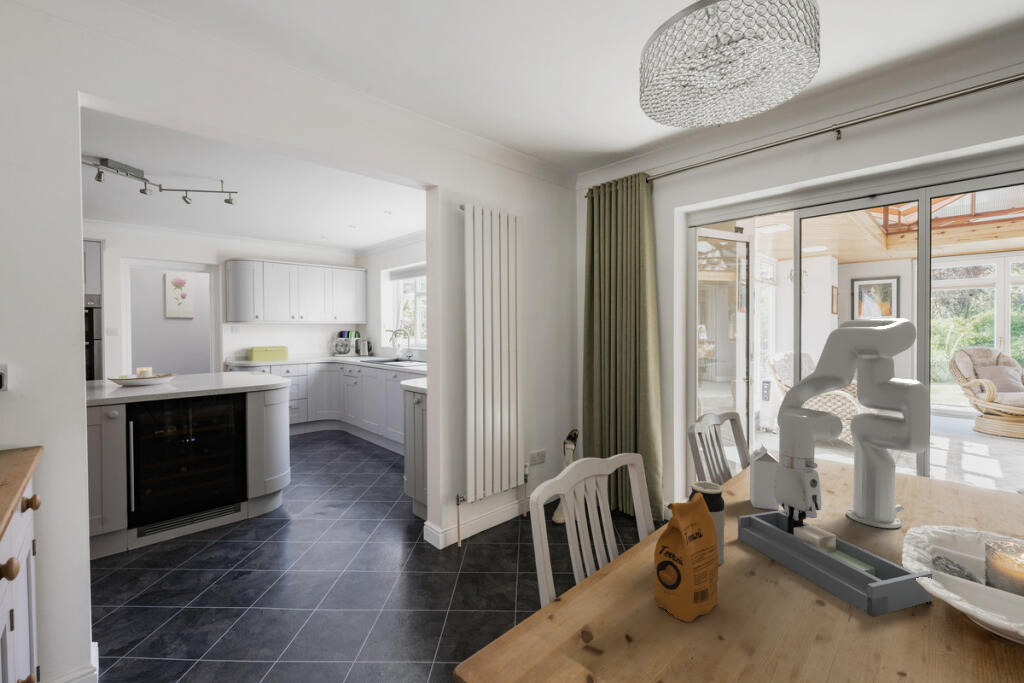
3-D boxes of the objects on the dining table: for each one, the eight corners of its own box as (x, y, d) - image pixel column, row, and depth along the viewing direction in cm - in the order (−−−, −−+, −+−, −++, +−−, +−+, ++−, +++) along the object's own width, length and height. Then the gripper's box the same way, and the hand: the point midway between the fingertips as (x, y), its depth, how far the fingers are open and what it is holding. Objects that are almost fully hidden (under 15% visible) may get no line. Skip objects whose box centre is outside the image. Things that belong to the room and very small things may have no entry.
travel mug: (696, 546, 115) (697, 478, 114) (728, 558, 109) (729, 486, 108) (683, 558, 109) (683, 486, 109) (716, 570, 103) (717, 494, 103)
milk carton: (773, 502, 144) (774, 444, 143) (779, 510, 137) (779, 450, 137) (749, 499, 146) (749, 443, 146) (753, 507, 139) (754, 448, 139)
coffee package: (645, 601, 92) (646, 497, 91) (683, 583, 98) (684, 485, 98) (687, 629, 83) (688, 514, 83) (725, 606, 90) (726, 500, 89)
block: (811, 540, 111) (812, 524, 111) (835, 551, 105) (835, 535, 105) (793, 543, 109) (793, 527, 109) (816, 555, 103) (816, 538, 103)
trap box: (787, 530, 124) (787, 509, 124) (931, 601, 91) (932, 573, 91) (738, 538, 119) (738, 516, 119) (872, 617, 86) (872, 587, 86)
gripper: (836, 469, 105) (835, 545, 106) (782, 452, 120) (781, 519, 120) (812, 472, 103) (810, 549, 104) (760, 454, 118) (759, 522, 118)
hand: (795, 533), depth 112 cm, fingers closed
